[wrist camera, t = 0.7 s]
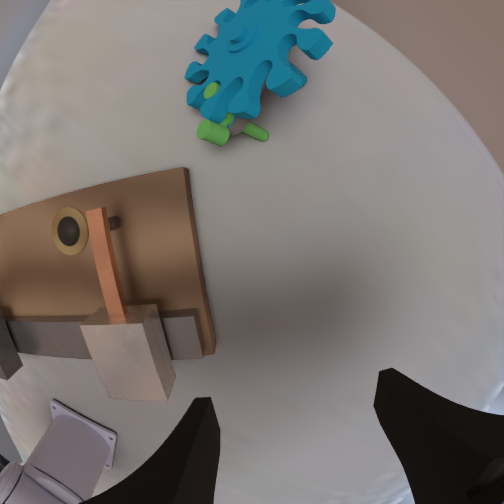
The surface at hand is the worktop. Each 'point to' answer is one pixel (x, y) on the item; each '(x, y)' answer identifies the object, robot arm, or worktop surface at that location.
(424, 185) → the worktop surface
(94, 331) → the slider
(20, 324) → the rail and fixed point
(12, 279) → the hole board
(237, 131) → the gear
